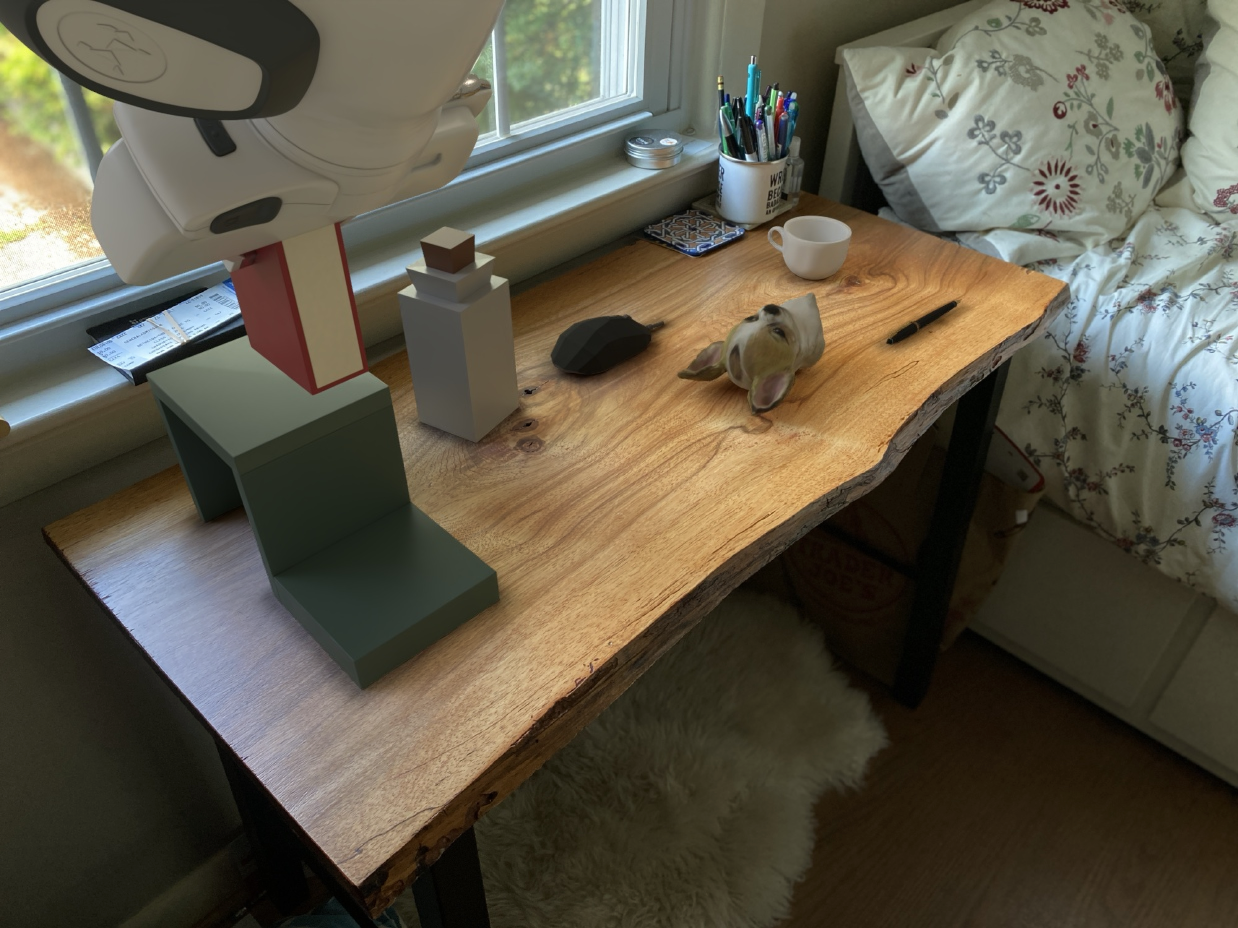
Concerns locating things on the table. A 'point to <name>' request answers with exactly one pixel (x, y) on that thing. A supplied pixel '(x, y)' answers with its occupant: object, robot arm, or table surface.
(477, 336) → the perfume bottle
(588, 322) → the gaming mouse
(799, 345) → the ceramic sculpture
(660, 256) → the table surface
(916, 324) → the fountain pen
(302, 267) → the book
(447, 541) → the shelf
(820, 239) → the teacup
